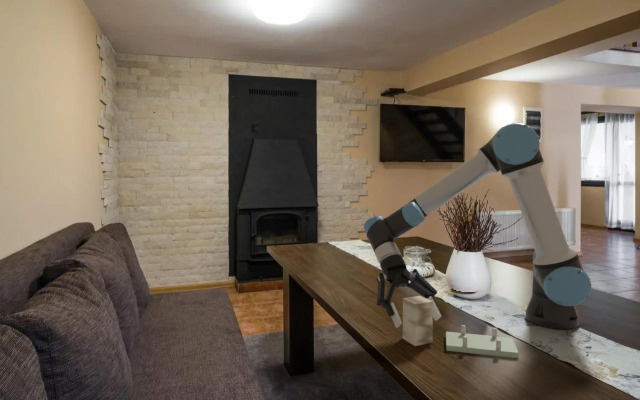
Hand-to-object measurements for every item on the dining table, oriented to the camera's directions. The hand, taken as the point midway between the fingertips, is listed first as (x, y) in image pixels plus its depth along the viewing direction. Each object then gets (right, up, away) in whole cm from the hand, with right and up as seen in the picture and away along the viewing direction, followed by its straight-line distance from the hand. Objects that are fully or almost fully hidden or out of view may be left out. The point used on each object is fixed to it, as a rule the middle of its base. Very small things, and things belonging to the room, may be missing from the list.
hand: (419, 322), depth 119 cm
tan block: (0, -6, +2) cm, 6 cm away
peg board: (+16, -6, -3) cm, 17 cm away
